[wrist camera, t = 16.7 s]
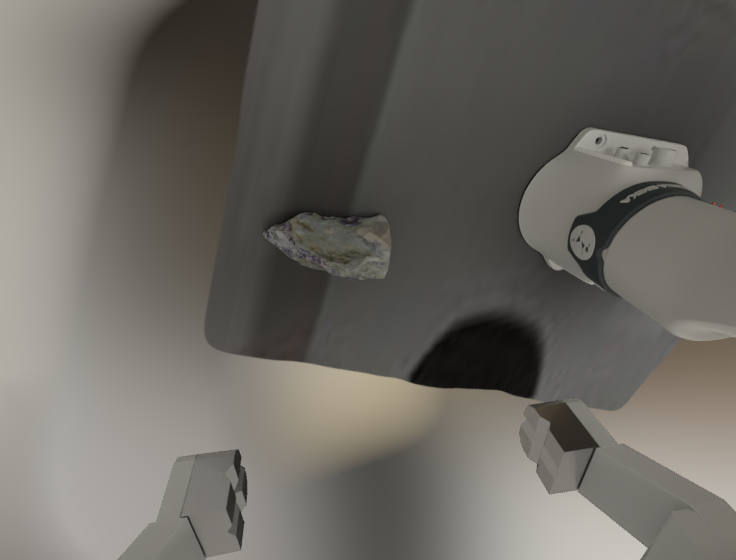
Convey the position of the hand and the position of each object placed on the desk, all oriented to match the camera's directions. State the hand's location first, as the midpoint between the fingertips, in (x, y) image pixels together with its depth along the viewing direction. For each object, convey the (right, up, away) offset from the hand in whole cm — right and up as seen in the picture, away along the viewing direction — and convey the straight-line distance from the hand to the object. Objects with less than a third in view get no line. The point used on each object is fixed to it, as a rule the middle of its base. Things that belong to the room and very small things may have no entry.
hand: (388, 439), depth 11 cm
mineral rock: (-5, +11, +36) cm, 38 cm away
